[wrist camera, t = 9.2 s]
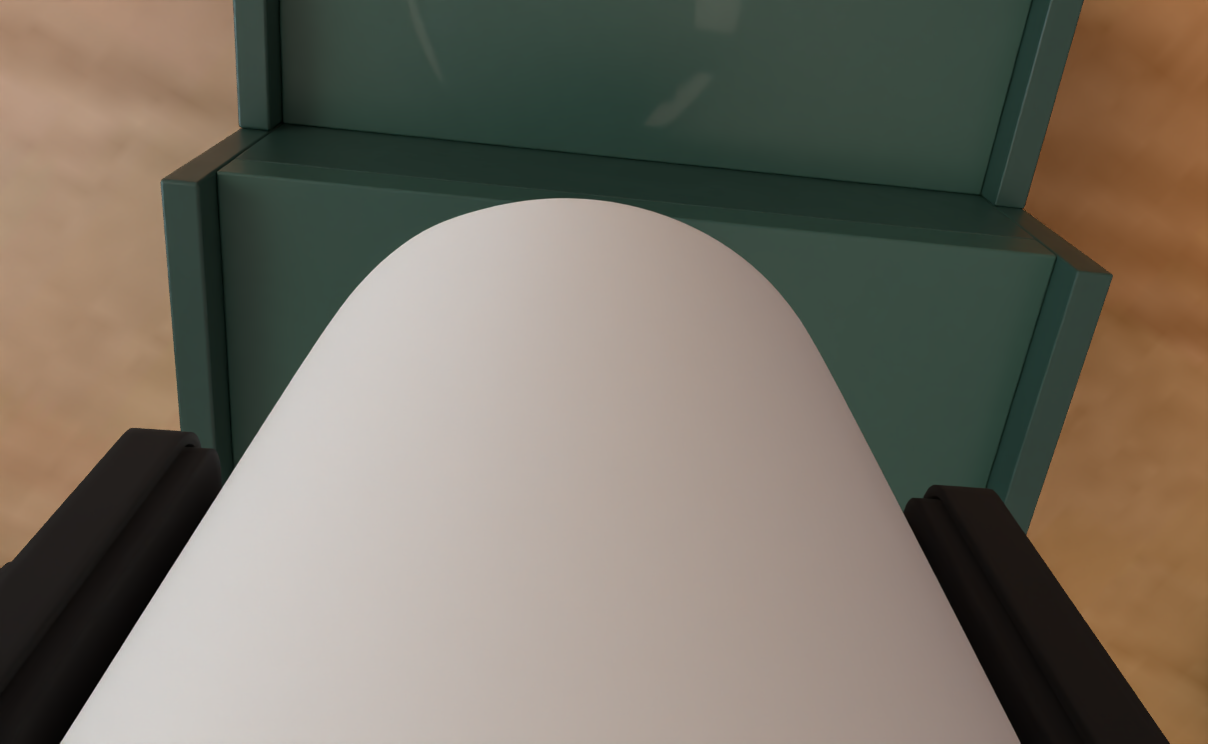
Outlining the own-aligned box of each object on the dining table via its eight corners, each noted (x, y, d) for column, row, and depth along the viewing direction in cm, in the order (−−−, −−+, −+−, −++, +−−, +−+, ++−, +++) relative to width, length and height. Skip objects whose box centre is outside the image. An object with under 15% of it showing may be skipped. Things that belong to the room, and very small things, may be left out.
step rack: (296, -175, 28) (125, -217, 18) (1012, -90, 29) (1234, -85, 19) (307, 385, 35) (191, 580, 25) (880, 437, 36) (990, 645, 26)
